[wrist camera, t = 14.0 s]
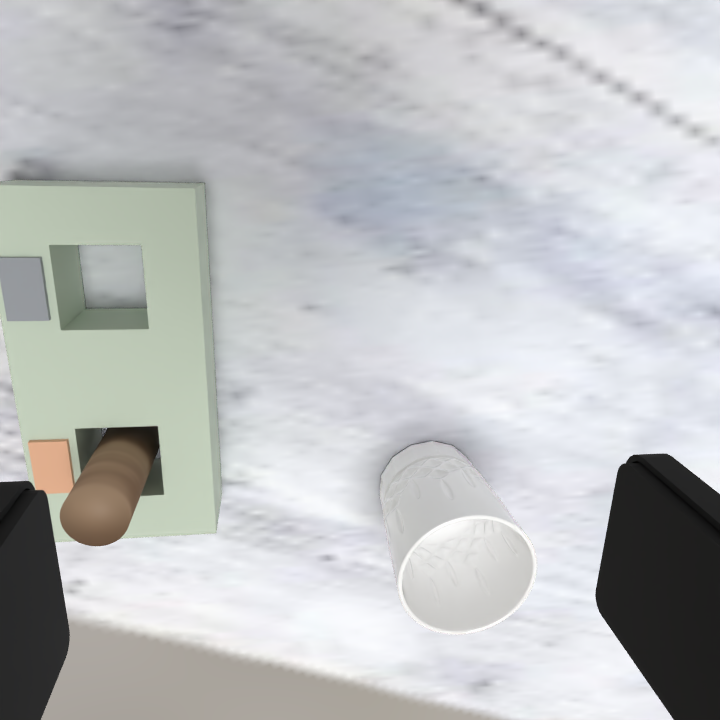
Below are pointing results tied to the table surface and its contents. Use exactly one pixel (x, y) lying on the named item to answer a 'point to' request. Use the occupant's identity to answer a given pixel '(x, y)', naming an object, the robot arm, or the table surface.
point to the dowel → (110, 486)
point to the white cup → (452, 542)
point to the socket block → (113, 342)
